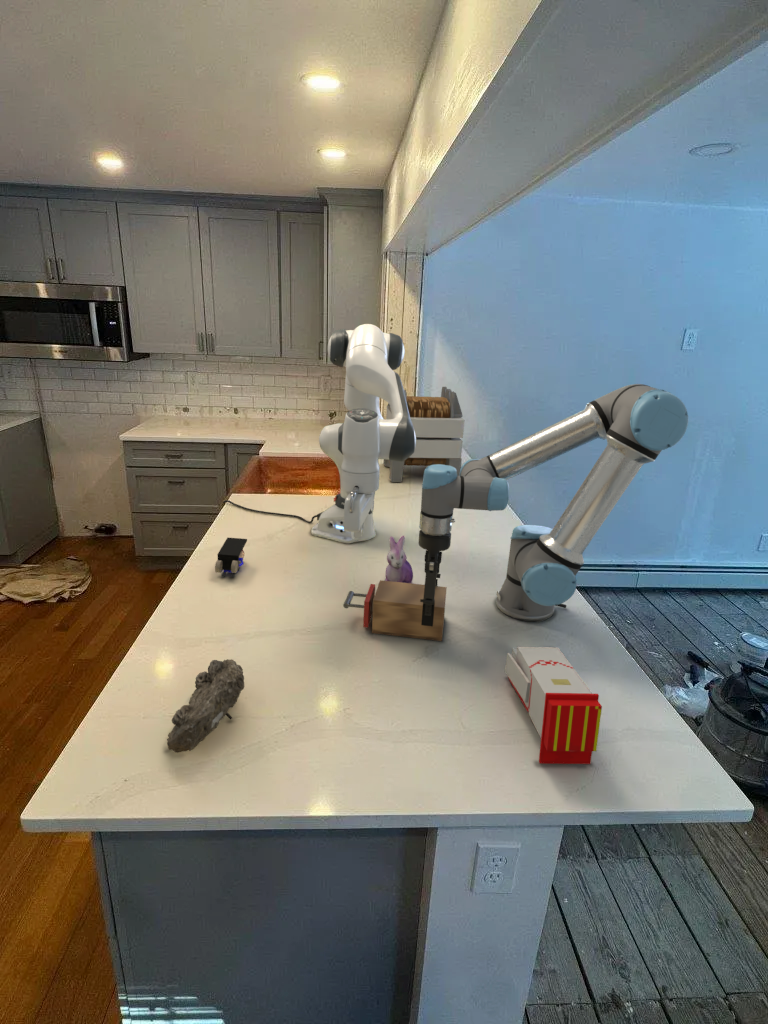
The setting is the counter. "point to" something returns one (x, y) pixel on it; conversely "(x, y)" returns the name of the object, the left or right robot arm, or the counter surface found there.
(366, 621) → the drawer
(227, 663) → the fossil
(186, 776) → the counter surface
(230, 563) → the figurine character
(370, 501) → the left robot arm
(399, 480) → the transformer
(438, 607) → the cabinet
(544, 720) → the toy
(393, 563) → the figurine
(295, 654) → the counter surface
